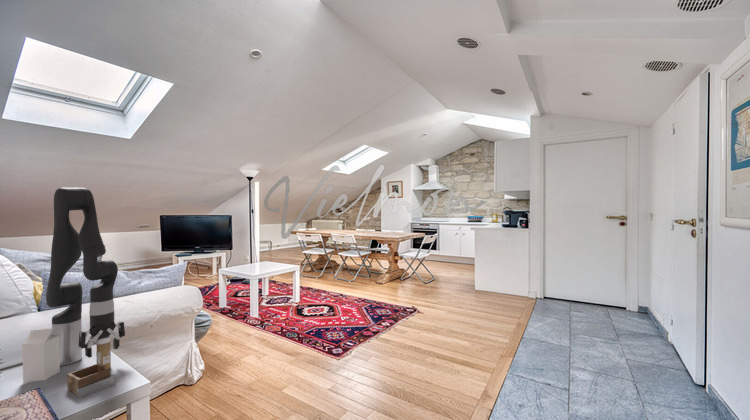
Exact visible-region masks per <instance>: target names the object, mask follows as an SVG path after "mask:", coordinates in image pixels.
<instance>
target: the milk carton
mask: <svg viewBox="0 0 750 420" xmlns="http://www.w3.org/2000/svg"><path fill="white" fill-rule="evenodd" d="M59 373H61V367H60V352H59V335H57V334H56V333H54V332H52V328H41V329H40V328H39V329H31V330H30V333H29V334H28V335H27V337H26V339H25V340H24V342H23V343H22V384H23V385H26V384H29V383H32V382H39V381H46V380H48V379H50V378H51V377H53V376H54V375H57V374H59Z"/></svg>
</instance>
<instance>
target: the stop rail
mask: <svg viewBox="0 0 750 420" xmlns="http://www.w3.org/2000/svg"><path fill="white" fill-rule="evenodd" d="M115 379H116V376H115V375H114V374H110V375H109V376H106V377H104V378H101V379H98V380H96V381H93V382H90V383H88V384H85V385H82V386H80V387H77V395H76V398H78V399H79V400H81V399H82V398H85V397H88V396H91V395H93V394H95V393H98V392H99V391H100V392H101V391H102V390H104V389H105V390H106V389H107V388H110V387H112V386H115V385H116V381H115Z"/></svg>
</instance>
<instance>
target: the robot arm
mask: <svg viewBox="0 0 750 420" xmlns="http://www.w3.org/2000/svg"><path fill="white" fill-rule="evenodd" d="M70 211H82V213H83V217H84V220H83V223H82V225H81V228H80V229H79V232H78V231H77V230H76V229H75V227H74V225H73V224H72V223H71V221H70V219H71V218H70ZM52 234H53V235H52V242H51V249H50V250H51V251H50V272H49V277H48V282H47V286H46V287H47V288H46V293H45V301H46V305H47V306H48V307H49V308H59V307H63V306H67V307H66V308H65V309H64V310H63V311H61V312H59V313H56V314H55V315H53V316H52V317H51V329H52V332H54V333H56V334H57V335H59V352H60V366H67V365H71V364H74V363H76V362H79V361H80V360H82V359H83V349H84V355H85V356H86V357H87V358H92V357H93V348H92V346H93V345H94V343H96V340H97V339H101V338H103V337H108V336H110V337H112V338H113V340H112V342H113V344H112V345H113V346H112V347H113V350H118V349H119V347H120V339H121V338H123V337H125V335H126V332H125V331H126V330H125V322H123V321H118V322H116V323H115V301H114V287H115V283H116V279H117V277H118V273H119V269H118V267H119V266H118V265H117V263H116V262H115V261H114V260H102V261H98V258H99V257H102V256H104V255H105V254H106V253H107V252H106V251H107V250H106V246H105V244H104V241H103V238H102V236H101V233H100V228H99V222H98V215H97V209H96V203H95V199H94V195H93V192H92V191H91V190H90V189H89V188H87V187H59V188H57V189H56V190H55V191H54V195H53V233H52ZM82 255H83V256H82ZM81 257H83V260H82V261H83V263H82V273H83V276H84V277H85V278H86V279H87V280H89V281H90V282H91V281H92V282H93V281H99V280H100V281H99V283H98V284H97V285H94V286H92V287H91V288H90V289H89V297H90V298H89V302H90V303H89V329H88V330H85V331H84V330H82V311H83V310H82V309H83V308H82V307H83V287H82V284H81V282H79V281H72V282H65V283H62V281H63V279H64V277H65V276H66V274H67V273H68V272H69V271H70V269H72V268H73V267H74V265H75V264H76V263H77V262H78V261H79V260H80V258H81ZM115 328H117V329H118V330H117V331H118V334H117V333H116V332H115V331H114V330H115ZM89 334H90V336H89V338H88V340H87V337H88V335H89ZM86 340H87V341H86Z"/></svg>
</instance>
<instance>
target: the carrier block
mask: <svg viewBox="0 0 750 420" xmlns="http://www.w3.org/2000/svg"><path fill="white" fill-rule="evenodd" d="M109 375H111V368H108V367H106V366H103V365H101V364H99V363H98V364H97V363H96V364H93V365H90V366H86V367H84V368H81V369H79V370H74V371H72V372H69V373H67V375H66V376H67V379H66V381H67V383H66V385H67V391H69V392H71V393H72V394H74V395H75V396H77V387H80V386H82V385H85V384H88V383H90V382H93V381H96V380H98V379H101V378H104V377H106V376H109Z"/></svg>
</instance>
